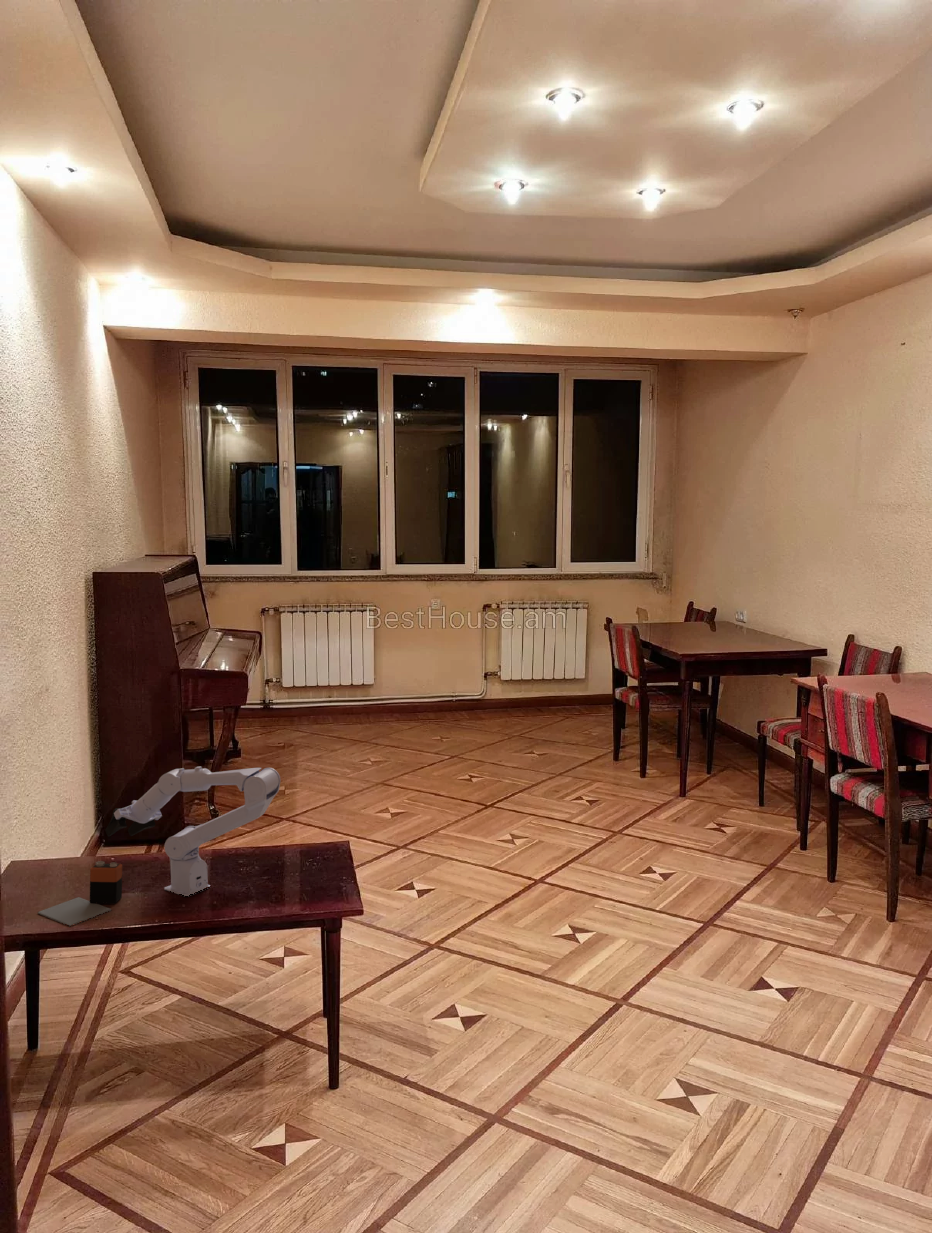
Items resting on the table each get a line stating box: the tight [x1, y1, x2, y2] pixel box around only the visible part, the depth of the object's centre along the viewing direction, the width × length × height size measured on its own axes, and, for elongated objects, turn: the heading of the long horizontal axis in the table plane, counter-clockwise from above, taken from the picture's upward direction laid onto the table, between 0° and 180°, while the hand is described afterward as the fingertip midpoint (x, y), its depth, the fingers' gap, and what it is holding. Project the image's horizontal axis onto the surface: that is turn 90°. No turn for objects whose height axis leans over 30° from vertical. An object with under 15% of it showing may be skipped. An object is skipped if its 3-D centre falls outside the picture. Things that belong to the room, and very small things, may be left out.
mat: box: [37, 896, 112, 927], centre depth 216 cm, size 14×11×1 cm
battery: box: [89, 860, 123, 905], centre depth 222 cm, size 4×7×10 cm, turn 91°
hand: (118, 833), depth 233 cm, fingers open, 7 cm apart
